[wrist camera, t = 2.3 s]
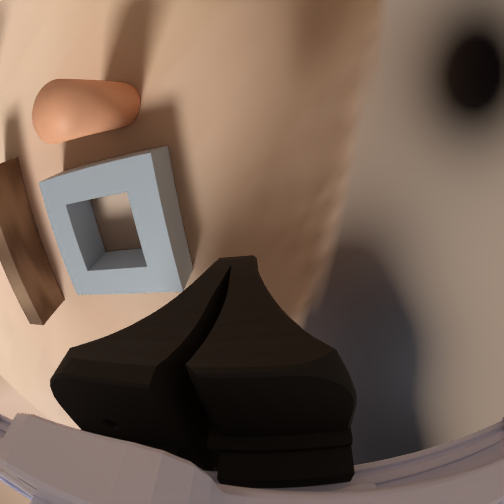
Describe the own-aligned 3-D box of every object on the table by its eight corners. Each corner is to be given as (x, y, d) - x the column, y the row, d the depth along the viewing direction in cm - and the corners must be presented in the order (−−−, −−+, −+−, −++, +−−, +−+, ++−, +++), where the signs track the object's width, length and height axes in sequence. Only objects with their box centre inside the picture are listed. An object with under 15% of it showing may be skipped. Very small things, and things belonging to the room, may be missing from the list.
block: (193, 268, 22) (183, 291, 19) (94, 274, 23) (77, 294, 20) (167, 145, 18) (150, 152, 15) (62, 171, 19) (38, 182, 16)
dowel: (143, 122, 17) (84, 133, 11) (103, 133, 18) (38, 151, 11) (137, 76, 16) (75, 69, 10) (96, 90, 16) (29, 92, 10)
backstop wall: (64, 299, 25) (43, 325, 21) (51, 299, 25) (30, 323, 21) (17, 157, 18) (-15, 169, 15) (4, 163, 19) (-27, 176, 15)
